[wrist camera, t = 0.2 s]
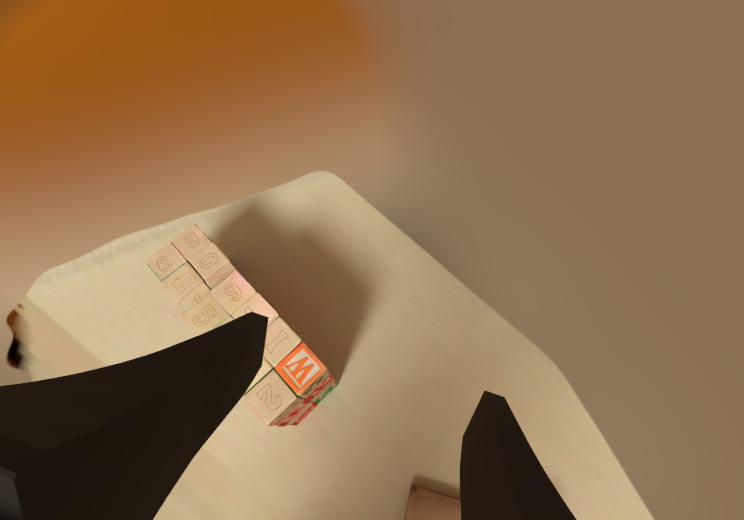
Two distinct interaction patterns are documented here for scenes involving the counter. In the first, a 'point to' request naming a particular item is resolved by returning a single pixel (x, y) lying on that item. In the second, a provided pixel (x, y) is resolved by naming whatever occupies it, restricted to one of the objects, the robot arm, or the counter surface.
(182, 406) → the robot arm
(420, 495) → the tray
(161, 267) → the stack of blocks
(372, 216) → the counter surface
